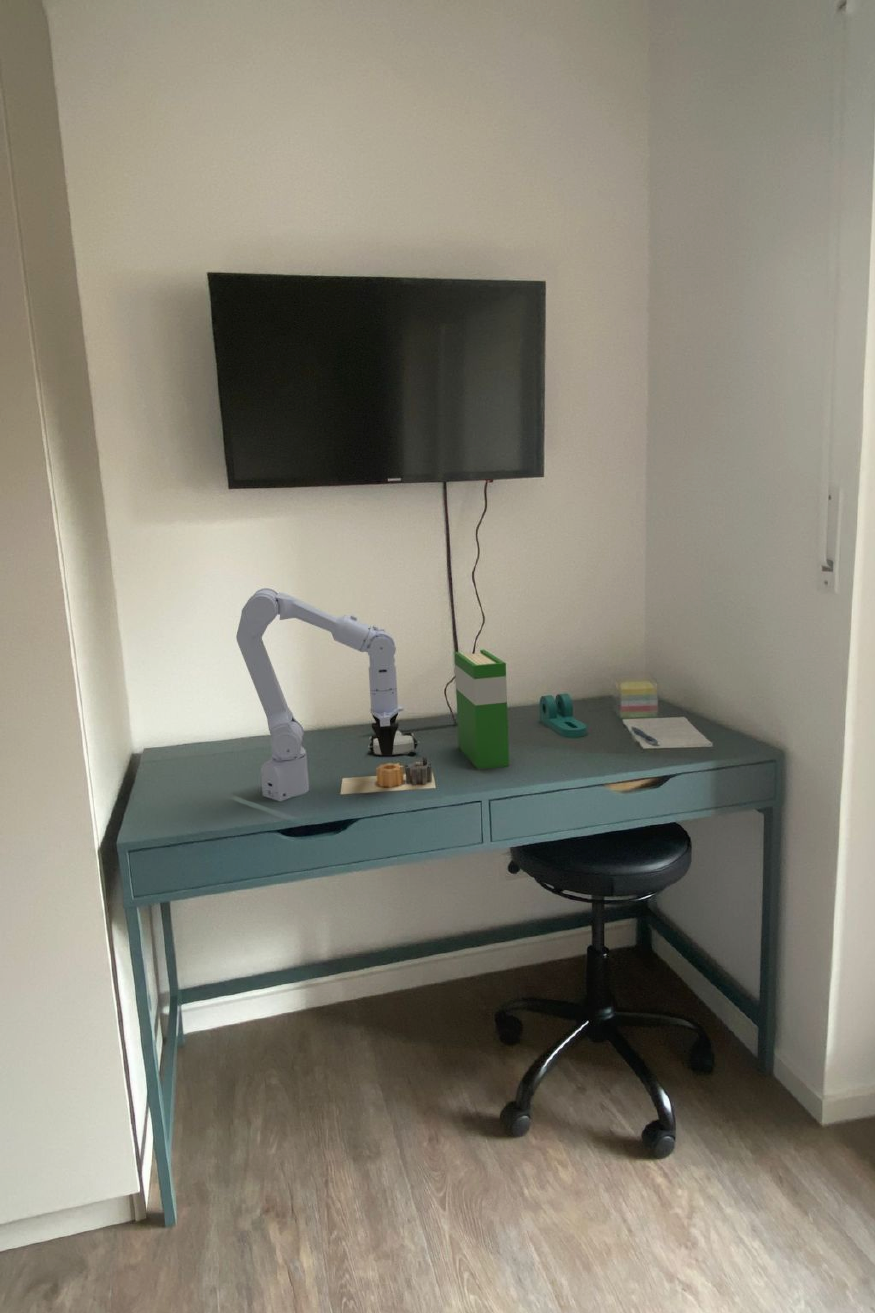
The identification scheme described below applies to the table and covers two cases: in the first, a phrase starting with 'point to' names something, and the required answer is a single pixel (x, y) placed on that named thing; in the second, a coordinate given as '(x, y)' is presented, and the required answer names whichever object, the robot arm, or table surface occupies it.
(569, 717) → the bracket
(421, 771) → the gear board
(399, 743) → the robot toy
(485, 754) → the hardback book
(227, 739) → the table surface
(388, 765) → the orange gear
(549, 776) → the table surface
